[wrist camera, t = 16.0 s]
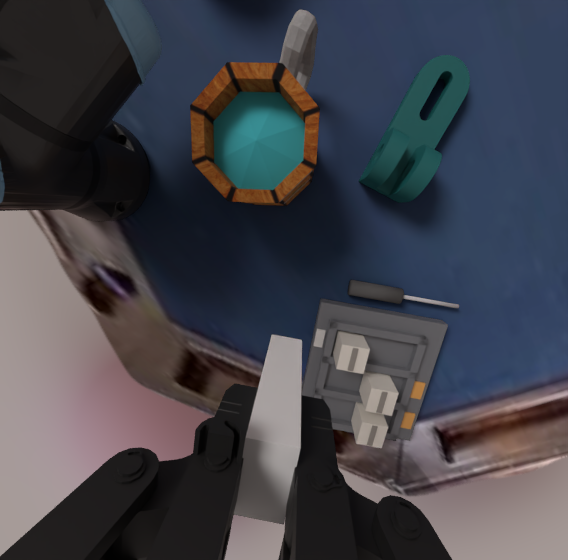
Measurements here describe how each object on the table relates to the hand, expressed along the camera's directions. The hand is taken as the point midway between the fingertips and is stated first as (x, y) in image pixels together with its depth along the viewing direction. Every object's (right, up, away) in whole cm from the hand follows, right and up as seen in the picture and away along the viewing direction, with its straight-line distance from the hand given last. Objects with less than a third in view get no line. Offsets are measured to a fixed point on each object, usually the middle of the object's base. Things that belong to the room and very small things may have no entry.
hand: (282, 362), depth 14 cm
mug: (-1, +24, +28) cm, 37 cm away
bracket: (+18, +25, +27) cm, 41 cm away
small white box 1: (+10, -6, +32) cm, 34 cm away
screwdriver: (+19, +2, +32) cm, 37 cm away
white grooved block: (+15, -13, +33) cm, 39 cm away
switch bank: (+14, -11, +35) cm, 40 cm away
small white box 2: (+14, -19, +35) cm, 42 cm away
